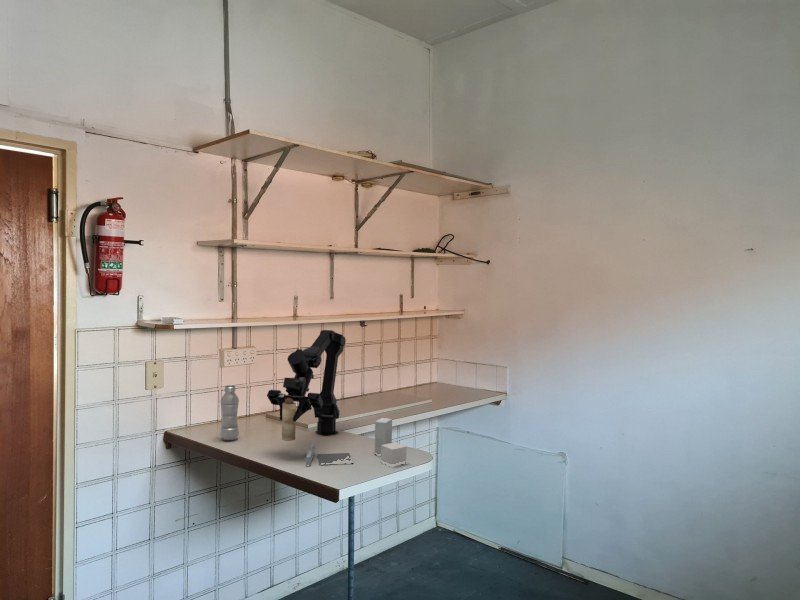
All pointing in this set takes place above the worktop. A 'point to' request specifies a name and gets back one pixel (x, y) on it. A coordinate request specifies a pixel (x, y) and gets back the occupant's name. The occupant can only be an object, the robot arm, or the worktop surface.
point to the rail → (310, 454)
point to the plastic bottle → (229, 414)
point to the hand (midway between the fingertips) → (287, 420)
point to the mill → (288, 420)
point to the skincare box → (382, 433)
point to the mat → (332, 457)
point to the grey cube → (393, 453)
